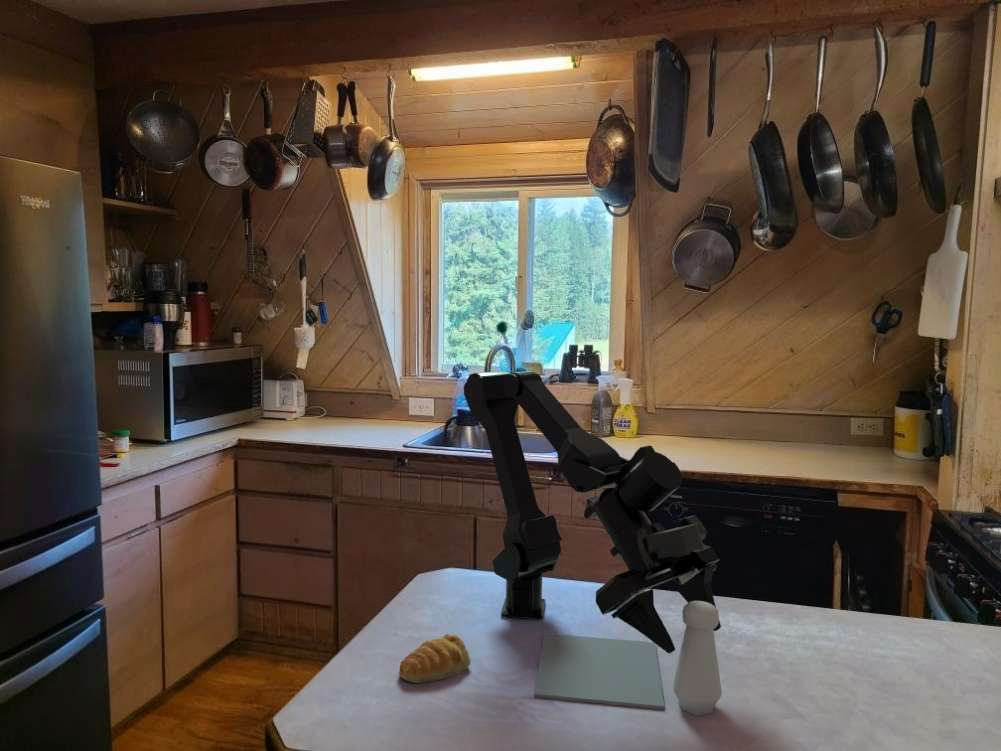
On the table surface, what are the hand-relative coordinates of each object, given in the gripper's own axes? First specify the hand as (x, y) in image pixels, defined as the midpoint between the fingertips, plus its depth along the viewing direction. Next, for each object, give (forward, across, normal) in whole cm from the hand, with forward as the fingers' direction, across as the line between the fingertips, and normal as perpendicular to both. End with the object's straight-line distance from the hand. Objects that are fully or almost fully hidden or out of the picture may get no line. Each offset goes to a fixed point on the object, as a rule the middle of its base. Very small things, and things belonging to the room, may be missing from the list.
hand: (695, 640), depth 88 cm
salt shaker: (+6, 0, +6) cm, 8 cm away
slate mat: (-3, -3, +15) cm, 16 cm away
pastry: (-12, -21, +24) cm, 34 cm away
